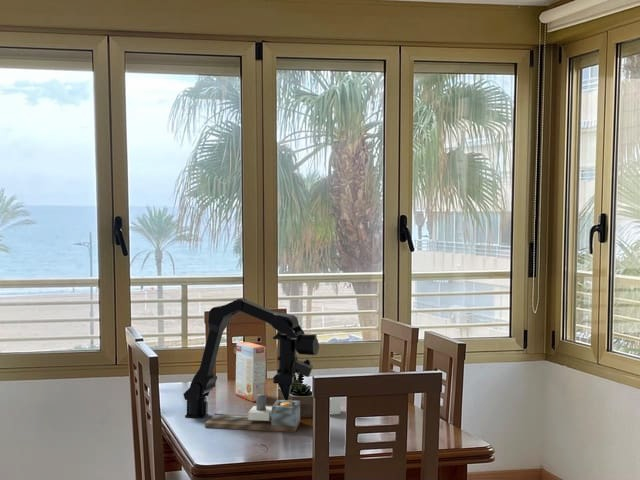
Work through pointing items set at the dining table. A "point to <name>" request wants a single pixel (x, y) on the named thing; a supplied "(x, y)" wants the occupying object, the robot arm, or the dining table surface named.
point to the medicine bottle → (335, 406)
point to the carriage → (260, 409)
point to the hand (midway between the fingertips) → (286, 399)
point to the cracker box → (250, 370)
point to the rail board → (280, 420)
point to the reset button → (285, 404)
